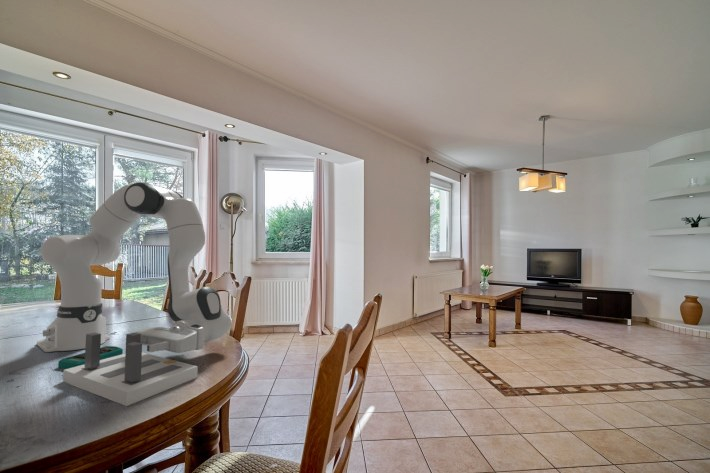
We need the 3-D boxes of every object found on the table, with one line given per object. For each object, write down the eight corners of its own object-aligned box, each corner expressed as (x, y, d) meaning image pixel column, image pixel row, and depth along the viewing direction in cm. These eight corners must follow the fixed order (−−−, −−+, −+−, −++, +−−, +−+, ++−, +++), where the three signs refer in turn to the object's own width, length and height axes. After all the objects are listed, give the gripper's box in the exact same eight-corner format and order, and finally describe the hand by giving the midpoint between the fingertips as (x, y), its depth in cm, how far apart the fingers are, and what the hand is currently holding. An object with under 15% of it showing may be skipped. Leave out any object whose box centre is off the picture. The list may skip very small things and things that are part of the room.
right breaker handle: (124, 380, 77) (126, 343, 77) (133, 377, 79) (134, 341, 79) (131, 382, 76) (133, 345, 76) (140, 379, 78) (142, 343, 78)
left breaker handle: (84, 367, 85) (86, 334, 85) (93, 364, 87) (94, 332, 87) (90, 368, 84) (92, 335, 84) (99, 366, 85) (100, 333, 86)
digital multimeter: (124, 355, 105) (125, 346, 106) (75, 372, 91) (76, 361, 91) (107, 353, 107) (107, 344, 107) (56, 369, 93) (57, 359, 93)
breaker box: (62, 381, 84) (63, 369, 84) (135, 360, 100) (135, 350, 100) (126, 406, 71) (127, 391, 72) (197, 377, 88) (197, 365, 88)
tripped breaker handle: (124, 366, 86) (126, 334, 86) (132, 364, 87) (134, 332, 88) (131, 368, 84) (133, 335, 85) (139, 366, 86) (140, 333, 86)
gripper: (163, 320, 104) (116, 329, 92) (207, 328, 95) (161, 339, 83) (162, 339, 104) (114, 352, 91) (206, 349, 95) (160, 364, 83)
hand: (137, 346), depth 87 cm, fingers open, 8 cm apart
